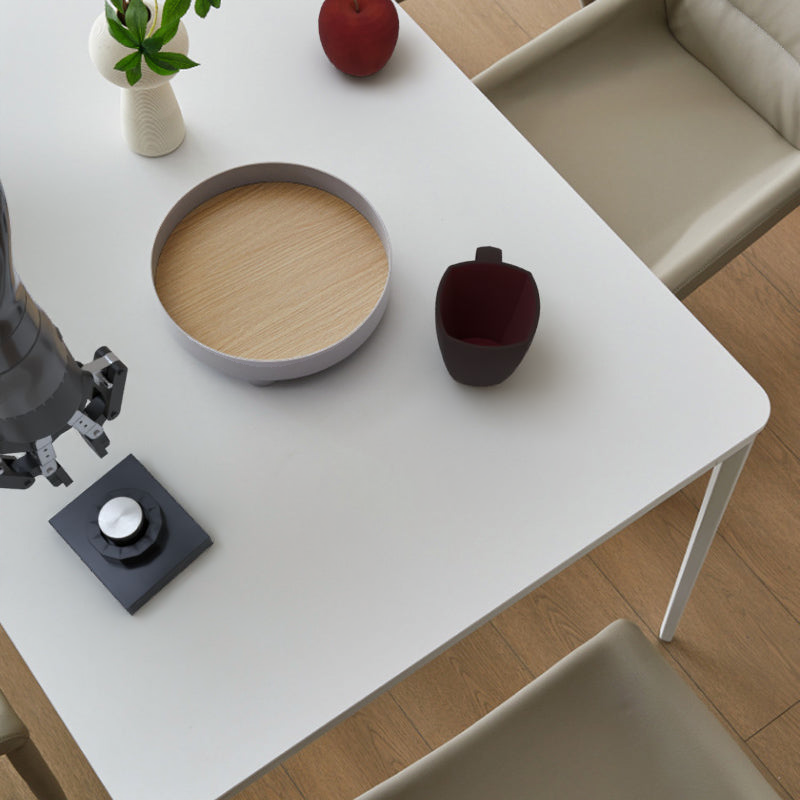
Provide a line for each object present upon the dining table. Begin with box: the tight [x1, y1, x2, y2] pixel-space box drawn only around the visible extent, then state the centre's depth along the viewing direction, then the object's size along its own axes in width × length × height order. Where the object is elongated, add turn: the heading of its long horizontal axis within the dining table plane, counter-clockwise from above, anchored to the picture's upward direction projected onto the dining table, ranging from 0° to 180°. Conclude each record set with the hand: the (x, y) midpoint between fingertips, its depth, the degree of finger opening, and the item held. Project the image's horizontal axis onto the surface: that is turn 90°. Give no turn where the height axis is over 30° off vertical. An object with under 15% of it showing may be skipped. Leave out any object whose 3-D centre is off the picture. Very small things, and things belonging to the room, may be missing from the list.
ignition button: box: [98, 497, 147, 545], centre depth 94 cm, size 4×4×2 cm
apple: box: [317, 0, 400, 77], centre depth 119 cm, size 10×10×10 cm
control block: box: [47, 452, 214, 616], centre depth 96 cm, size 12×10×4 cm
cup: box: [434, 245, 541, 388], centre depth 102 cm, size 10×14×12 cm
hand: (79, 462), depth 81 cm, fingers open, 3 cm apart
